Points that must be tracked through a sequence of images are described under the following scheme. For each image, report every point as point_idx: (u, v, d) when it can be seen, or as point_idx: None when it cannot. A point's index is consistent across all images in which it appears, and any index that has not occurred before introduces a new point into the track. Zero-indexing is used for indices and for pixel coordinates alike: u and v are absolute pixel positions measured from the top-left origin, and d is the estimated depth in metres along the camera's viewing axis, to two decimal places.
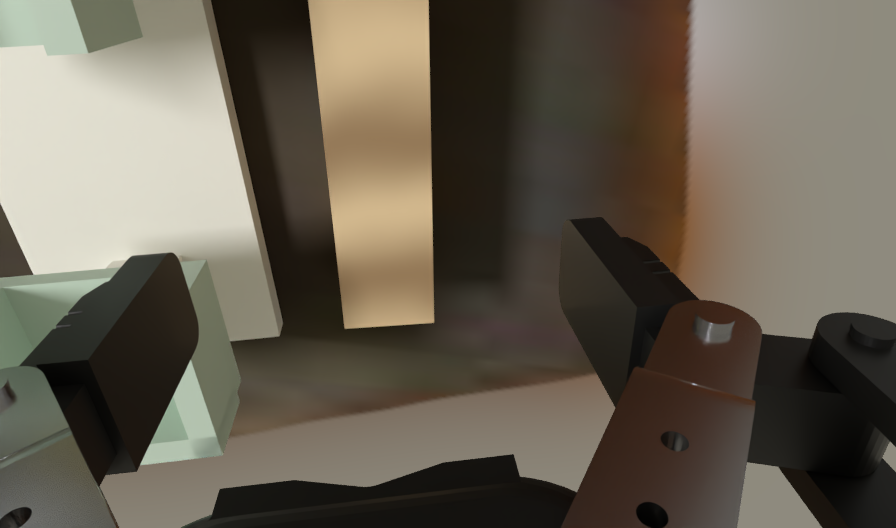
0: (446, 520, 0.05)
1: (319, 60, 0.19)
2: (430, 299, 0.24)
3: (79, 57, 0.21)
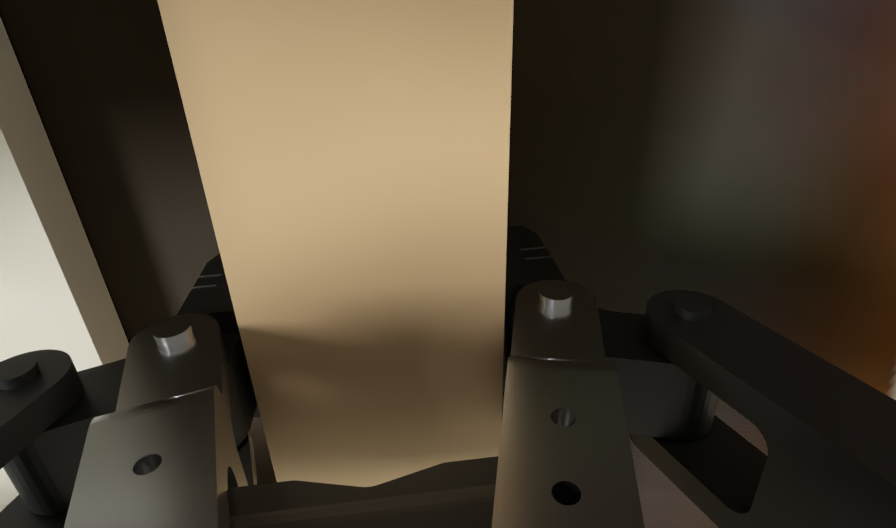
0: (446, 520, 0.05)
1: (221, 215, 0.07)
2: None
3: None
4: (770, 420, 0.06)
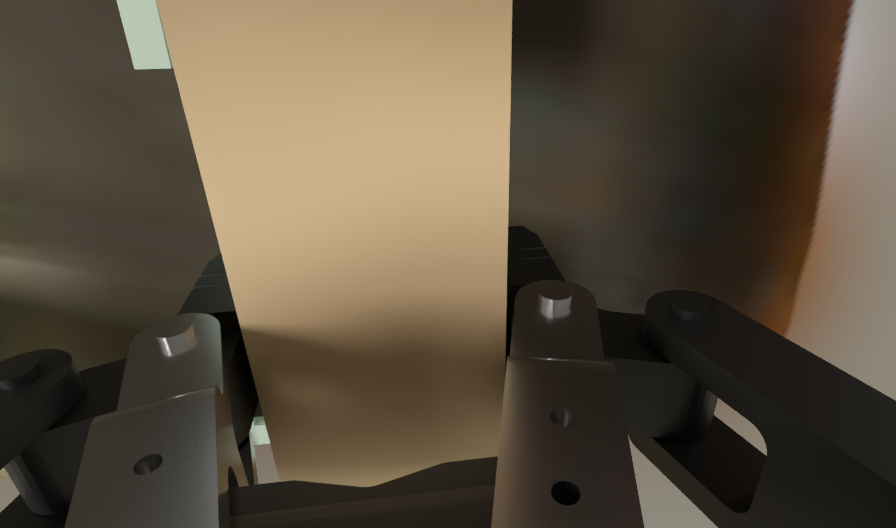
0: (446, 520, 0.05)
1: (224, 219, 0.07)
2: None
3: None
4: (769, 420, 0.06)
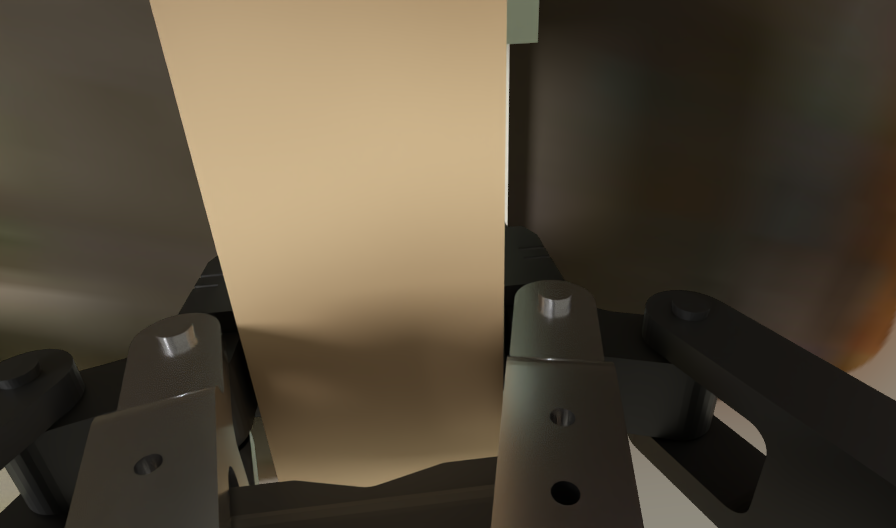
0: (446, 520, 0.05)
1: (219, 221, 0.07)
2: None
3: None
4: (769, 420, 0.06)
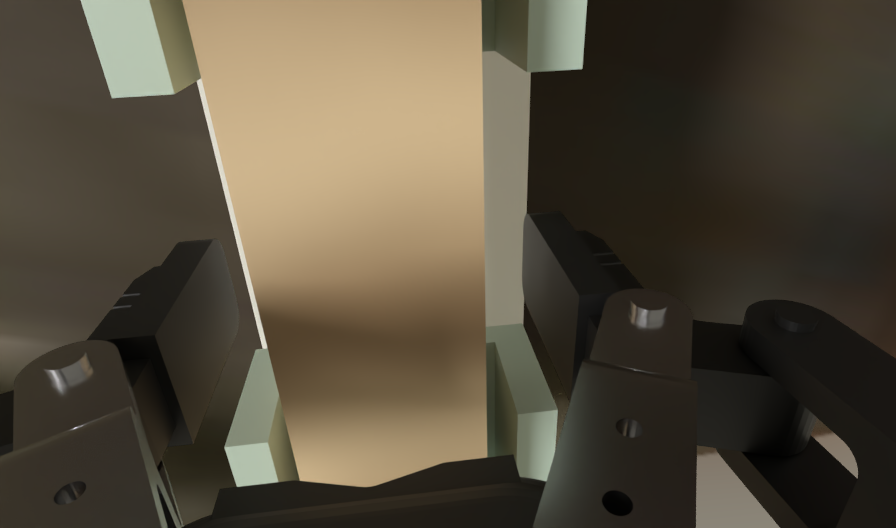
0: (446, 520, 0.05)
1: (237, 183, 0.08)
2: None
3: None
4: (864, 441, 0.06)
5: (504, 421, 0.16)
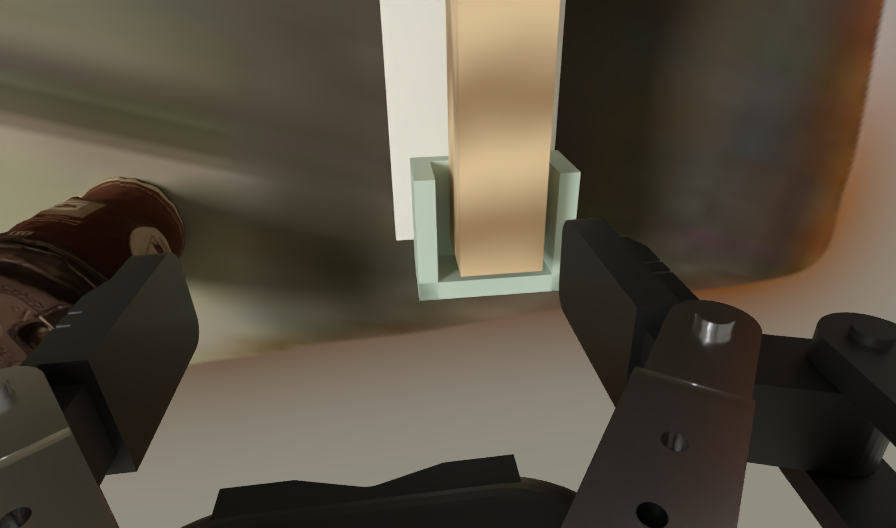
0: (446, 520, 0.05)
1: (461, 21, 0.21)
2: (540, 248, 0.26)
3: None
4: None
5: (549, 195, 0.28)
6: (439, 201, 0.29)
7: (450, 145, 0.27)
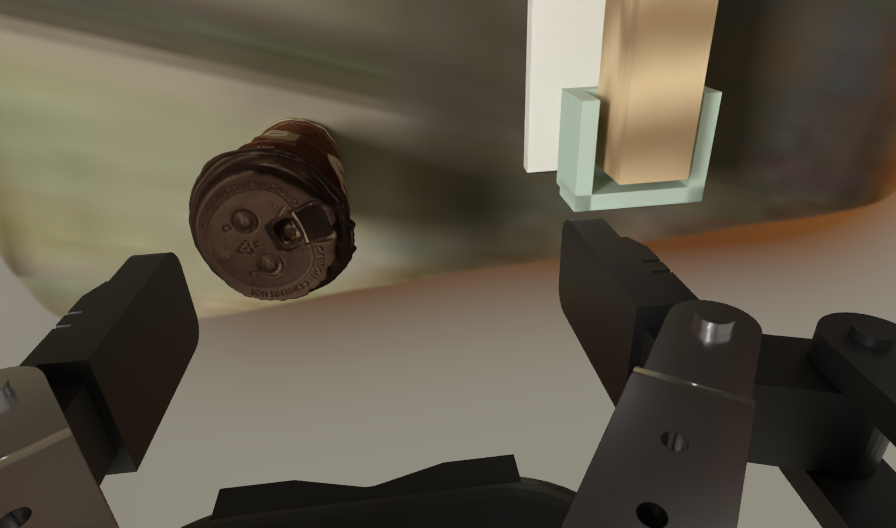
0: (446, 520, 0.05)
1: None
2: (689, 158, 0.31)
3: None
4: None
5: None
6: None
7: (605, 73, 0.31)
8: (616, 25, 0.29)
